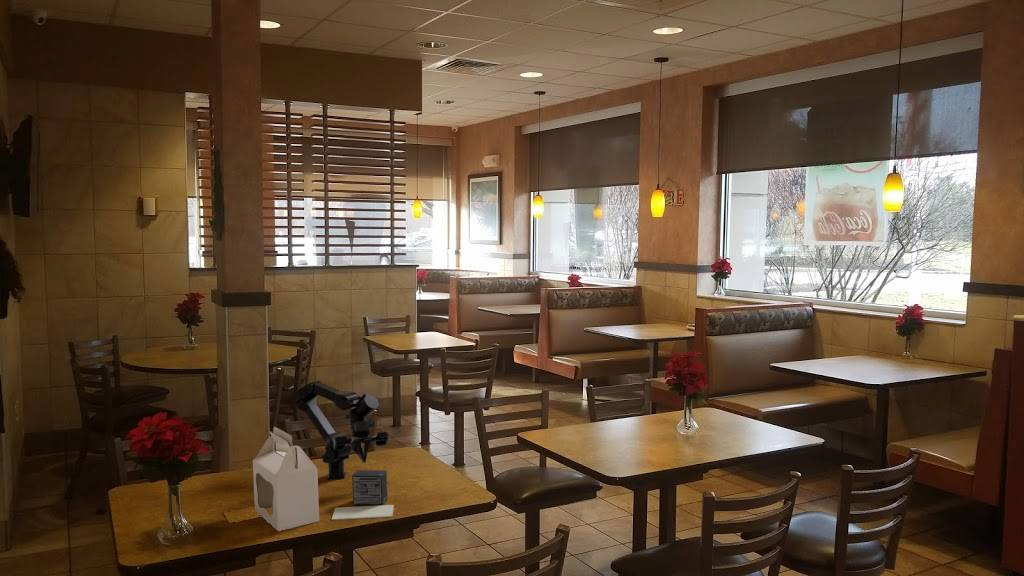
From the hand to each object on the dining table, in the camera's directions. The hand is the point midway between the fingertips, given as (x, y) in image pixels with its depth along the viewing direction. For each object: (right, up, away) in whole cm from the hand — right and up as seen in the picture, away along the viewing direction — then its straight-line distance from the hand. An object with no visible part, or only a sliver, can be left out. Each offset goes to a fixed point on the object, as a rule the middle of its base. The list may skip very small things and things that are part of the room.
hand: (364, 461), depth 264 cm
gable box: (-21, -13, -20) cm, 32 cm away
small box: (+4, -12, -8) cm, 15 cm away
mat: (+3, -12, -18) cm, 22 cm away
